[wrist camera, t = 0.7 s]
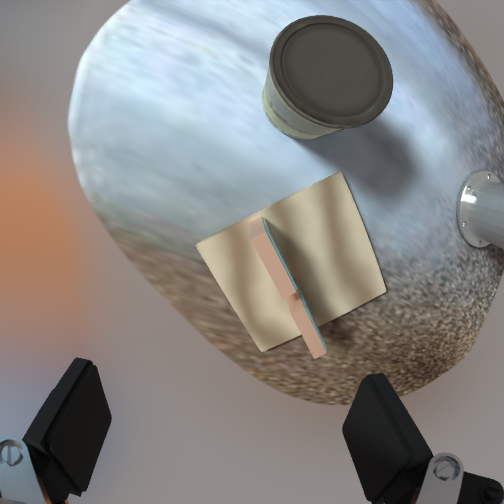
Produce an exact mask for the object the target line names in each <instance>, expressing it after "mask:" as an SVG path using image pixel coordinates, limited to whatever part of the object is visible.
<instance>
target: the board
mask: <svg viewBox="0 0 504 504" xmlns="http://www.w3.org/2000/svg"><path fill="white" fill-rule="evenodd" d="M261 216H262V218H264V219H265V220H266V222H267V224H268V226H269V228H270V230H271V232H272V234H273V236H274V238H275V240H276V242H277V244H278V246H279V248H280V250H281V252H282V254H283V256H284V258H285V260H286V262H287V263H288V266H289V268H290V271H291V274H292V276H293V279H294V280H296V281H297V283H298V285H299V287H300V289H301V291H302V294H303V296H304V298H305V300H306V302H307V304H308V306H309V308H310V310H311V312H312V314H313V316H314V318H315V320H316V323H317V325H318V327H319V326H321V325H323V324H325V323H327V322H329V321H331V320H333V319H335V318H337V317H339V316H341V315H343V314H345V313H347V312H349V311H351V310H353V309H355V308H357V307H359V306H360V305H362V304H364V303H366V302H368V301H370V300H372V299H374V298H375V297H377V296H379V295H381V294H383V293H384V292H386V288H385V285H384V281H383V278H382V275H381V272H380V269H379V266H378V263H377V260H376V257H375V255H374V252H373V249H372V246H371V243H370V241H369V238H368V235H367V233H366V230H365V227H364V225H363V222H362V220H361V217H360V214H359V212H358V210H357V207H356V205H355V202H354V200H353V197H352V195H351V193H350V190H349V188H348V186H347V183H346V181H345V179H344V176H343V174H342V172H338V173H336V174H333V175H331V176H329V177H327V178H325V179H323V180H321V181H319V182H317V183H315V184H313V185H311V186H309V187H307V188H305V189H303V190H301V191H299V192H296V193H294V194H292V195H290V196H288V197H286V198H284V199H282V200H280V201H278V202H276V203H274V204H272V205H270V206H268V207H266V208H265V209H263V210H261V211H259V212H257V213H255V214H253V215H251V216H249V217H247V218H245V219H243V220H241V221H239V222H237V223H235V224H233V225H231V226H229V227H228V228H226V229H224V230H222V231H220V232H218V233H216V234H214V235H212V236H210V237H209V238H207V239H205V240H203V241H201V242H199V243H197V245H196V247H197V248H198V250H199V252H200V254H201V255H202V257H203V259H204V260H205V262H206V264H207V265H208V267H209V269H210V270H211V272H212V274H213V275H214V277H215V279H216V280H217V282H218V284H219V285H220V287H221V289H222V290H223V292H224V293H225V295H226V297H227V298H228V300H229V302H230V303H231V305H232V306H233V308H234V310H235V311H236V313H237V314H238V316H239V318H240V319H241V321H242V322H243V324H244V326H245V327H246V329H247V330H248V332H249V333H250V335H251V337H252V338H253V340H254V341H255V343H256V344H257V346H258V347H259V349H260V351H261V352H263V351H266V350H268V349H270V348H273V347H275V346H277V345H280V344H282V343H284V342H286V341H289V340H291V339H293V338H295V337H297V336H300V335H301V333H300V331H299V329H298V327H297V325H296V323H295V321H294V320H293V318H292V316H291V314H290V310H289V307H288V303H287V299H286V298H284V299H282V297H281V295H280V293H279V292H278V290H277V288H276V286H275V284H274V282H273V280H272V278H271V277H270V275H269V273H268V271H267V269H266V267H265V265H264V264H263V262H262V260H261V258H260V256H259V254H258V252H257V251H256V249H255V247H254V245H253V243H252V241H251V238H250V222H252V221H254V220H256V219H258V218H260V217H261Z"/></svg>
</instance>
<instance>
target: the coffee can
mask: <svg viewBox="0 0 504 504" xmlns="http://www.w3.org/2000/svg"><path fill="white" fill-rule="evenodd" d="M392 90H393V74H392V69H391V65H390V62H389V59H388V57H387V55H386V54H385V52H384V50H383V49H382V47H381V46H380V45H379V43H378V42H377V41H376V40H375V39H374V38H373V37H372V36H371V35H370V34H369V33H368V32H367V31H365V30H364V29H362V28H361V27H359V26H358V25H356V24H354V23H352V22H350V21H347V20H344V19H342V18H338V17H333V16H326V15H316V16H309V17H305V18H301V19H298V20H296V21H294V22H292V23H291V24H289V25H288V26H286V27H285V28H284V29H283V30H282V31H281V32H280V33H279V35H278V36H277V37H276V39H275V41H274V43H273V46H272V48H271V52H270V61H269V69H268V73H267V78H266V82H265V86H264V89H263V93H262V103H263V108H264V111H265V113H266V116H267V117H268V119H269V121H270V122H271V123H272V124H273V125H274V126H275V127H276V128H277V129H278V130H279V131H281V132H282V133H284V134H286V135H288V136H290V137H293V138H296V139H304V140H310V139H316V138H320V137H322V136H324V135H327V134H330V133H333V132H336V131H339V130H343V129H347V128H354V127H358V126H361V125H364V124H366V123H369V122H370V121H372V120H374V119H375V118H376V117H377V116H378V115H380V114H381V113H382V112H383V110H384V109H385V108H386V106H387V105H388V103H389V100H390V98H391V95H392Z"/></svg>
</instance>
